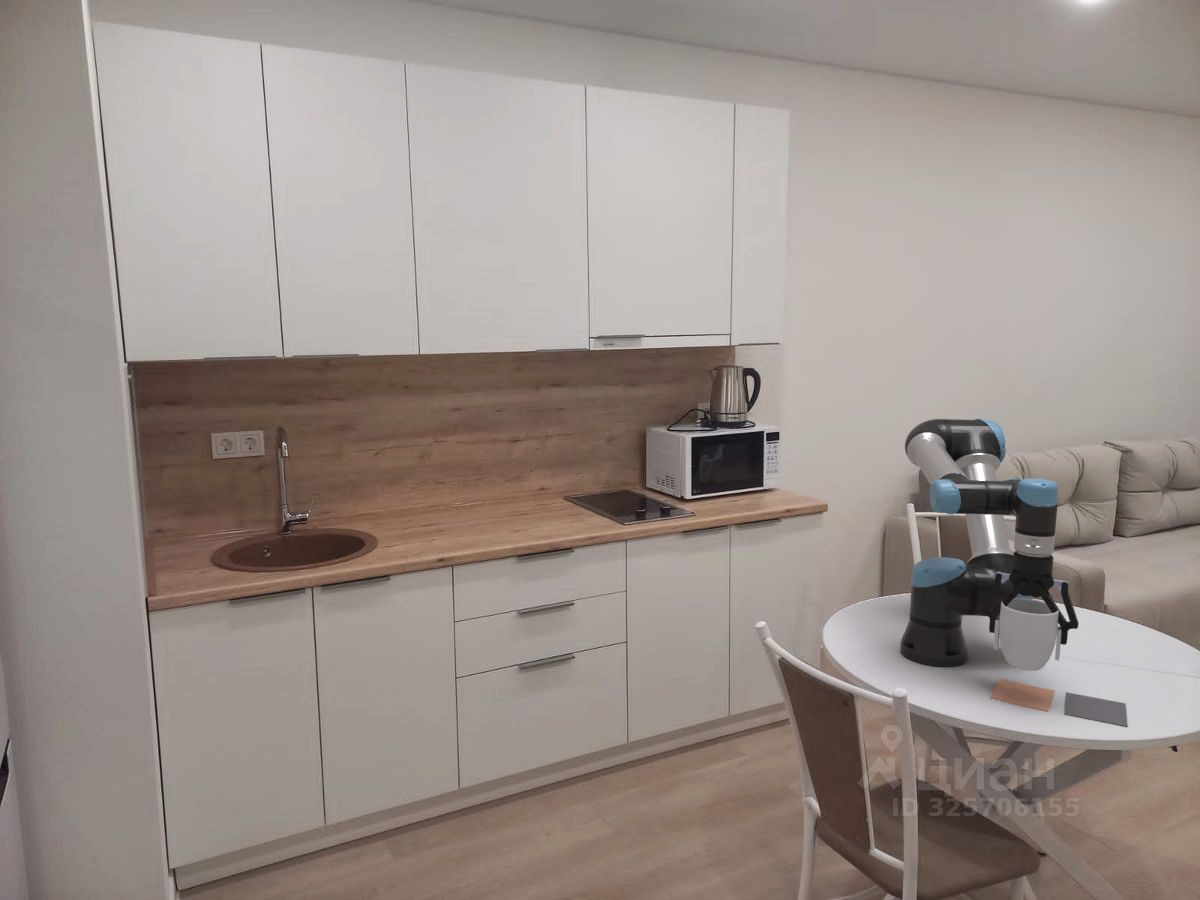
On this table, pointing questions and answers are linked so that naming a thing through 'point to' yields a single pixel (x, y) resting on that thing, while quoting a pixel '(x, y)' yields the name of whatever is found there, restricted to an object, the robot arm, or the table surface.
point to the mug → (1027, 633)
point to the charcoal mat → (1096, 709)
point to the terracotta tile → (1023, 695)
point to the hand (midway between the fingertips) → (1026, 652)
